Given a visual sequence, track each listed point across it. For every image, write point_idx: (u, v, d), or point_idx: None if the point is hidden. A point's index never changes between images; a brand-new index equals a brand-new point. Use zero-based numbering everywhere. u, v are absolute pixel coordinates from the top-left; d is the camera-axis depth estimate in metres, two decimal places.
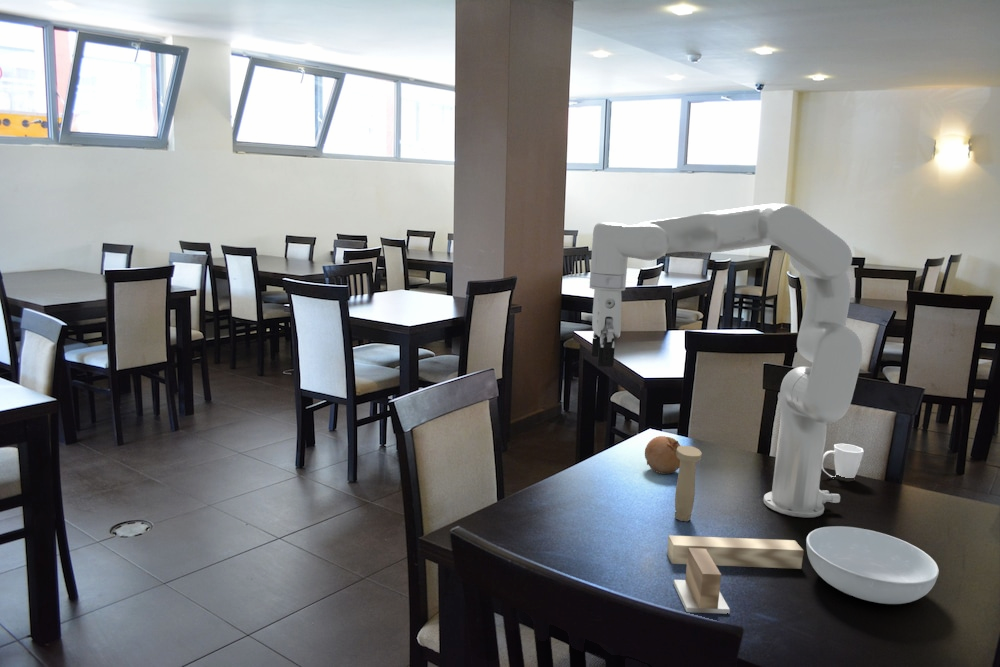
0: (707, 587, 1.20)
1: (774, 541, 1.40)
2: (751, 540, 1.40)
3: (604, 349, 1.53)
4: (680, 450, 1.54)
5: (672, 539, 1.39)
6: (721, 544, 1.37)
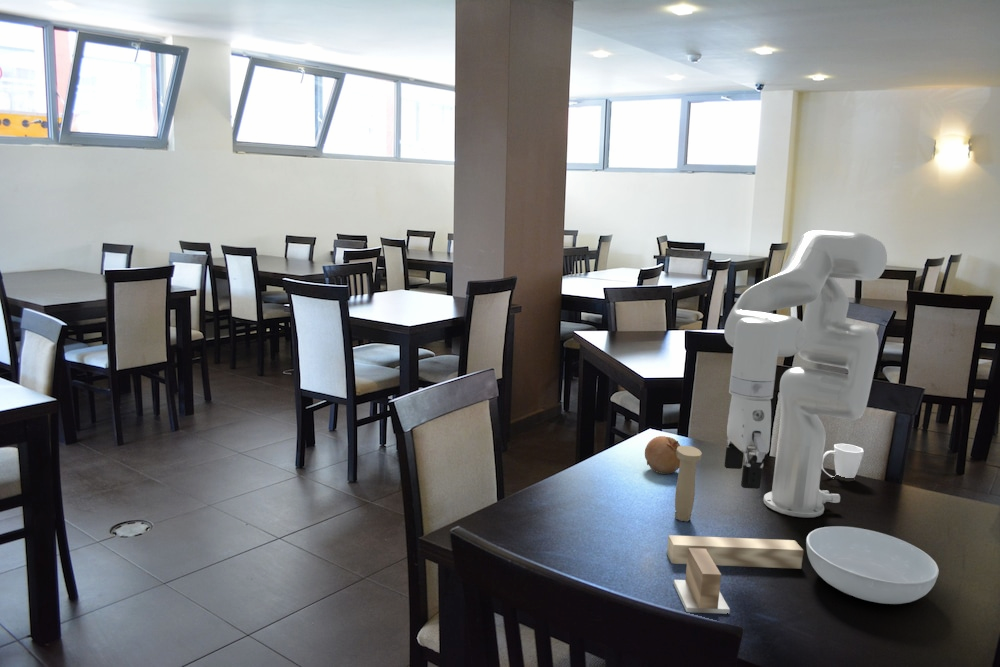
0: (707, 587, 1.20)
1: (774, 541, 1.40)
2: (751, 540, 1.40)
3: (751, 469, 1.30)
4: (680, 450, 1.54)
5: (672, 538, 1.39)
6: (721, 544, 1.38)
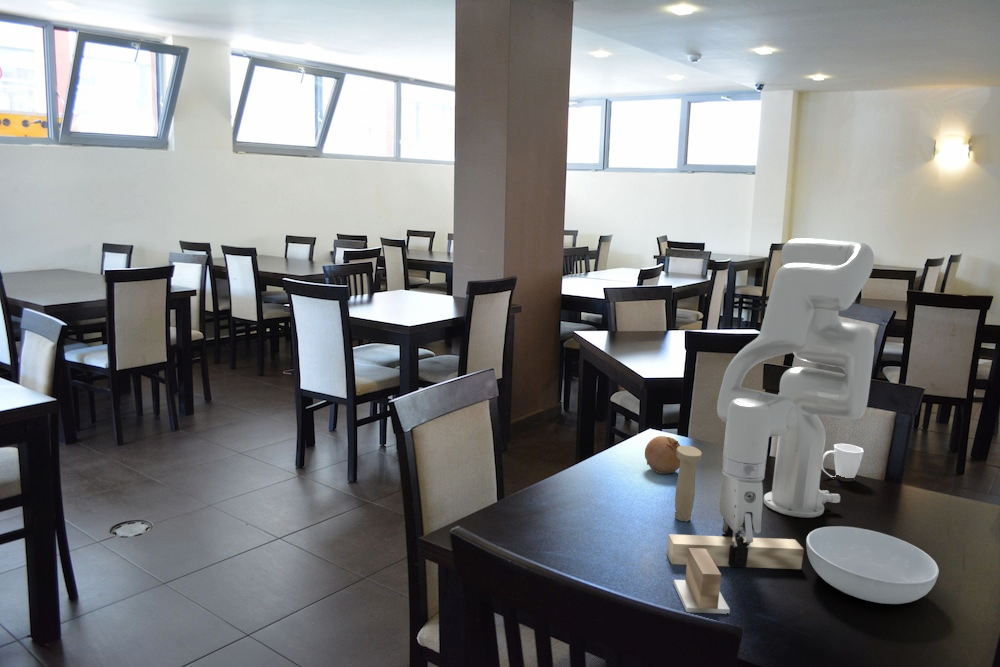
0: (707, 587, 1.20)
1: (774, 540, 1.39)
2: None
3: (737, 549, 1.35)
4: (680, 450, 1.54)
5: (672, 538, 1.38)
6: (721, 543, 1.37)
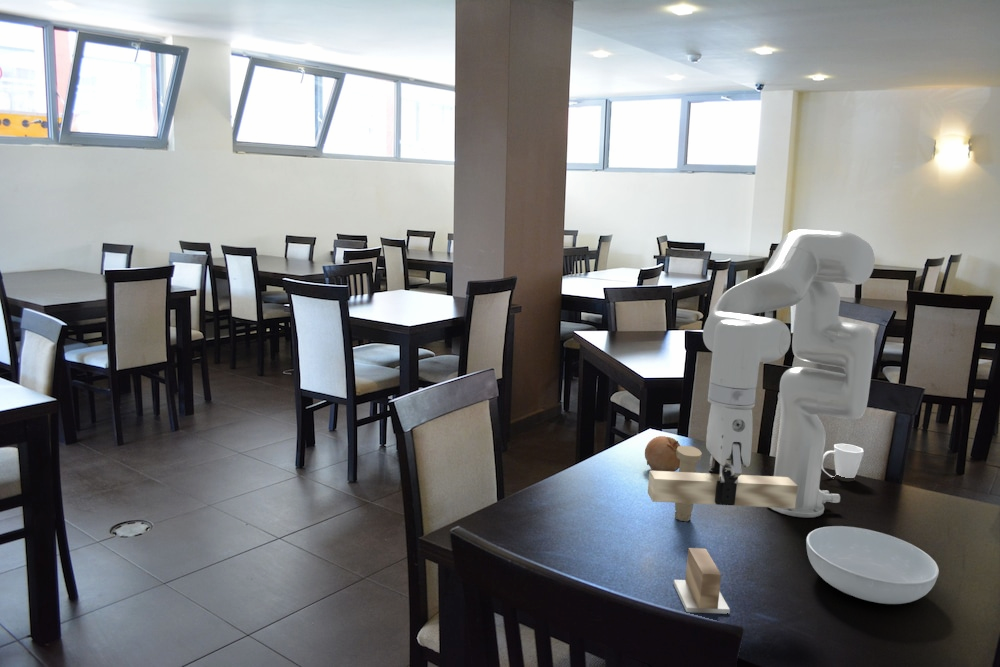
0: (707, 587, 1.20)
1: (765, 477, 1.27)
2: (740, 476, 1.27)
3: (725, 484, 1.23)
4: (680, 450, 1.54)
5: (653, 473, 1.26)
6: (707, 479, 1.25)
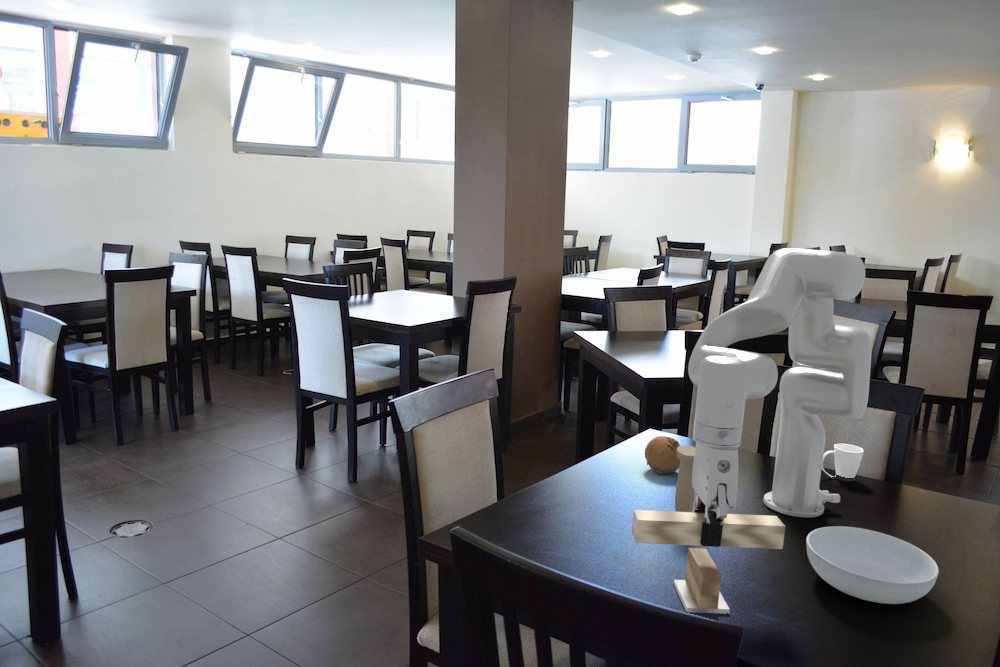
0: (707, 587, 1.20)
1: (752, 516, 1.24)
2: None
3: (710, 526, 1.19)
4: (680, 450, 1.54)
5: (637, 513, 1.23)
6: (692, 519, 1.22)
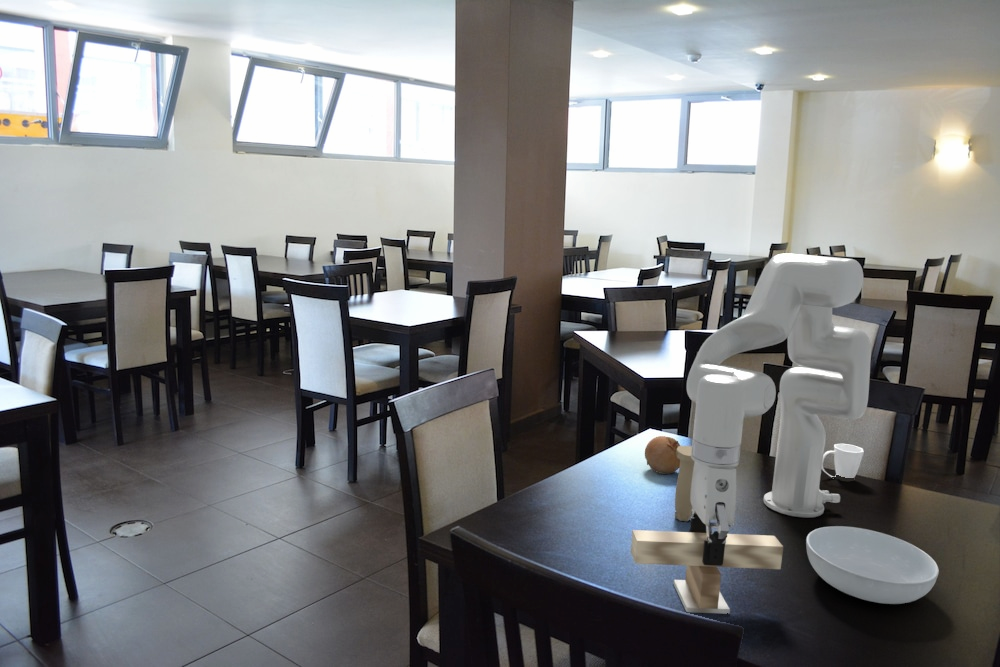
0: (707, 587, 1.20)
1: (751, 536, 1.25)
2: None
3: (712, 545, 1.18)
4: (680, 450, 1.54)
5: (636, 534, 1.24)
6: (691, 540, 1.22)
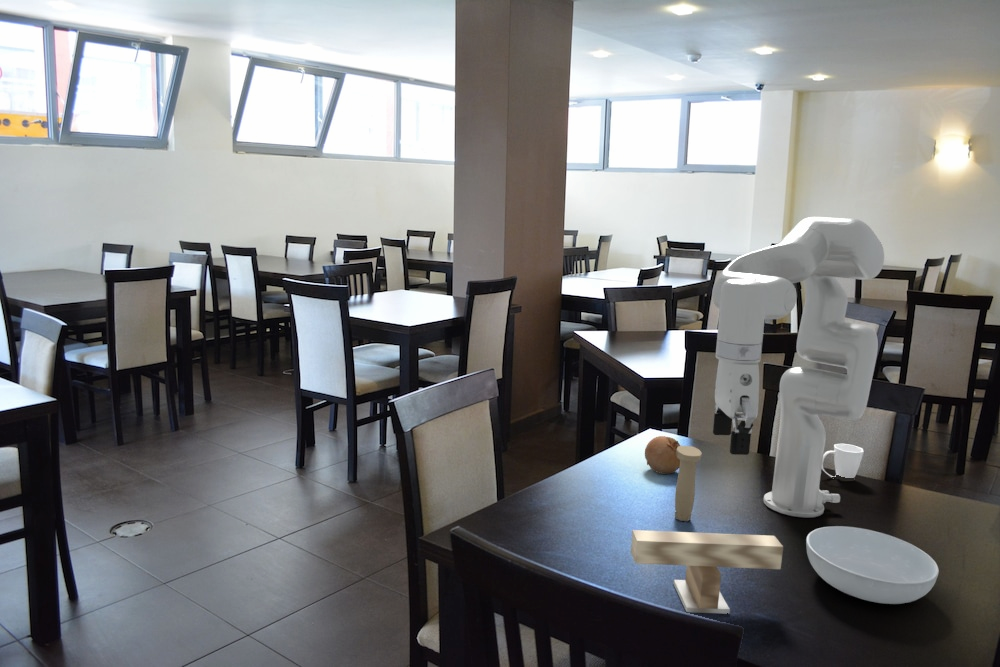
0: (707, 587, 1.20)
1: (751, 536, 1.25)
2: (725, 535, 1.25)
3: (739, 435, 1.26)
4: (680, 450, 1.54)
5: (636, 534, 1.24)
6: (691, 540, 1.22)
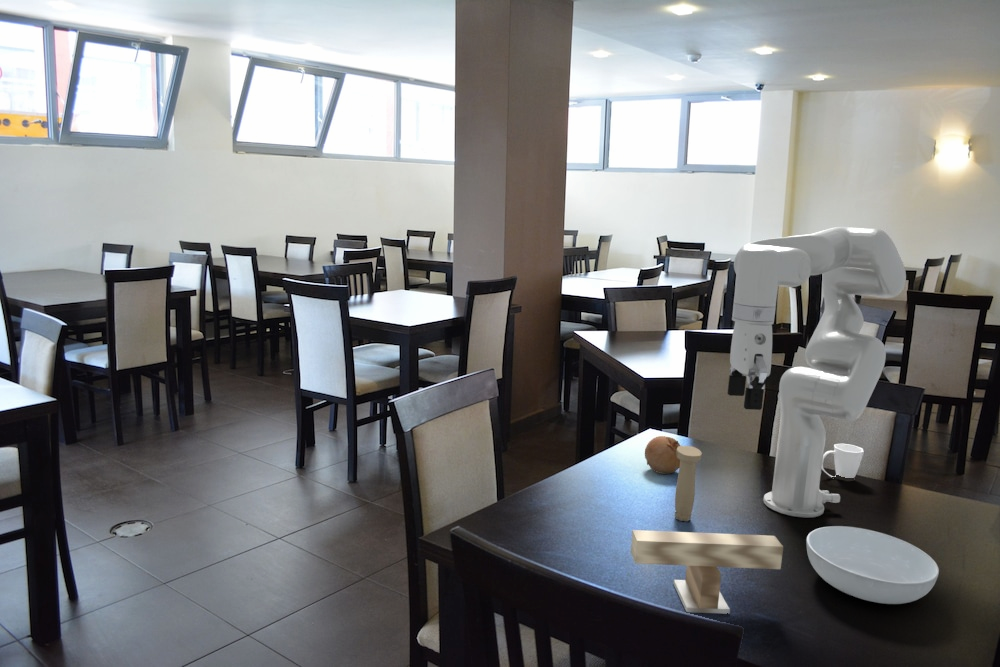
0: (707, 587, 1.20)
1: (751, 536, 1.25)
2: (725, 535, 1.25)
3: (753, 390, 1.36)
4: (680, 450, 1.54)
5: (636, 534, 1.24)
6: (691, 540, 1.22)
